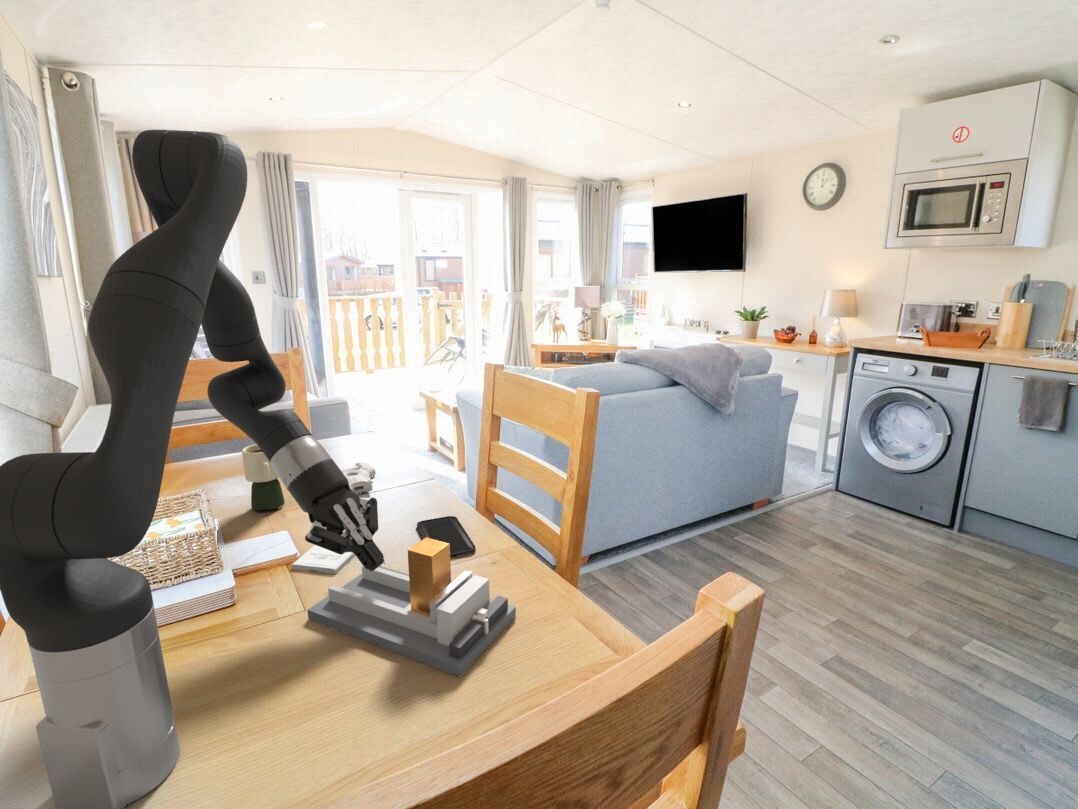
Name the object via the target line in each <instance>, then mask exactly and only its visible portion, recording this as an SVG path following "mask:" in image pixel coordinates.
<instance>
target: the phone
mask: <svg viewBox="0 0 1078 809" xmlns="http://www.w3.org/2000/svg"><path fill="white" fill-rule="evenodd" d="M416 528H417V531H418V534H419V535H420V537H421V539H422V540H423V539H424V538H430V539H434V540H438V541H442V542H445V543H449V544H450V560H451V559H456V558H460V557H465V556H466V557H467V556H470V555H474V554H475V553H476V551H477V550H476V545H475V544H474V542H473V541H472V539H471V537H470V536H469V535H468V533H467V532H466V530H465V528H464V527H463V525H462V524H461V521H459V519H458V517H456V516H455V515H448V516H442V517H436V518H431V519H423V520H420V521H418V522H417V523H416Z"/></svg>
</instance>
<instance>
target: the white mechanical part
mask: <svg viewBox="0 0 1078 809" xmlns="http://www.w3.org/2000/svg"><path fill="white" fill-rule="evenodd" d="M340 470H341V471H342V473H343V474H344V475H345V477H346V478H347V479H348V482H349V487H350V489H351V490H352V491H353V492H355V493H360V494H363V493H362V492H365V493H368V492H371V491H373V484H374V481H373V480H372V478H373V477H372V476H374V477H375V475H376V469H375V468H374V467H373V466H372V465H371V464H369V463H367V462H357V463H355V466H351V467H348V468H343V469H340ZM370 477H372V478H370Z"/></svg>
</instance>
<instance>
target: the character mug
mask: <svg viewBox="0 0 1078 809" xmlns="http://www.w3.org/2000/svg"><path fill="white" fill-rule="evenodd" d="M241 455H242V463H243V469H244V478H245V480H246V481H247V482H251V489H250V490H251V494H250V495H251V496H250V498H251V499H250V500H251V502H250V503H251V504H250V505H251V506H250V508H251V510H255V511H259V510H260V511H263V510H268V511H271V510H273V509H278V508H281V507H283V505H284V504H285V503H286V502H285V497H284V496H285V495H284V494H283V493H284V492H283V489H282V485H281V482H280V478H279V477H278V475H277V474H276V472H275V470H274V468H273V466H272V464H271V463H270V461H269V460H268V459H267V457H266V456H265V454H264V453H263V452H262V450H261V449H260V448H259V446H258V445H257V444H256V443H255V444H251V445H247V446H245V447H244V448H242V450H241Z"/></svg>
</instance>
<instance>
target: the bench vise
mask: <svg viewBox="0 0 1078 809" xmlns="http://www.w3.org/2000/svg"><path fill="white" fill-rule="evenodd" d="M327 590H328V596H326V597H324V598H322V600H320V601H319V602H317V603H315V604H314V605H312V606H311V607H310V608H308V609H307V619H308V620H310V621H312V622H315V623H317V624H320V625H323V626H325V627H328V628H331V629H332V630H333V629H334V630H337V631H339V632H341V633H344V634H347V635H348V636H352V637H355V638H356V639H360V640H362V641H365V642H367V643H370V644H372V645H375V646H378V647H380V648H383V649H386V650H388V651H390V652H393V653H397V654H399V655H402V656H404V657H406V658H410V659H412V660H414V661H418V662H420V663H423V664H425V665H427V664H428V665H427V666H430V667H433V668H435V667H436V668H435V669H438V670H440V669H441V671H443V670H444V671H443V672H446V671H447V672H446V673H448V672H449V673H448V674H451V673H452V674H451V675H454V674H455V675H454V676H456V675H458V676H457V677H459V676H461V677H462V676H463V675H464V674H465V673H466V672H467V671H468V670H467V669H469V668H470V667H471V666H472V665H473V664H474V663H475V662H474V661H475V660H476V661H477V660H478V658H479V657H481V655H482V654H483V653H484V652H485V651H486V650H487V649H488V647H489V646H490V645H491V644H492V643H493V642H494V641H495V639H496V638H497V637H499V635H500V634H501V633H502V632H503V631H504V629H505V628H507V626H508V625H509V624H510V623H511V622H512V621H513V620H514V619H515V617H516V615H517V614H516V613H517V612H516V606H514V605H512V604H509V601H508V600H509V599H508V597H504V596H500V595H497V596H496V597H495V598H494V599H491V598H490V578H486V577H483V576H480V575H476V574H473V575H472V578H471V579H469V580H468V581H467V582H466V583H465V584H464V585H462V586H461V587H460V588H459V589H458V590H457V591H456V592H454V593H453V594H452V595H451V596H450V597H449V598H448V599H446V600H445V601H444V602H443V603H442V604H441V605H440V606H438V607H437V608H436V615H437V625H435V624H432V623H430V617H428V616H425V615H422V614H419V613H416V612H413V611H410V610H407V609H404V608H405V607H406V606H407V605H409V604H410V603H411V600H410V583H409V573H406V572H403V571H399V570H396V569H393V568H389V567H386V566H383V565H381V566H379V567H378V568H376V569H375V570H374V571H370V570H369V569H368V570H367V569H366V568H364V566H363V565H362V566H361V573H360V575H358V576H356V577H355V578H353V579H352V580H350V581H349V582H347V583H346V584H344V585H343V586H338V585H335V584H332V585H331V586H329V587H328V588H327ZM493 640H494V641H493ZM484 650H485V651H484ZM482 652H483V653H482ZM472 663H473V664H472ZM466 670H467V671H466ZM465 671H466V672H465ZM464 672H465V673H464ZM463 673H464V674H463Z"/></svg>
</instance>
